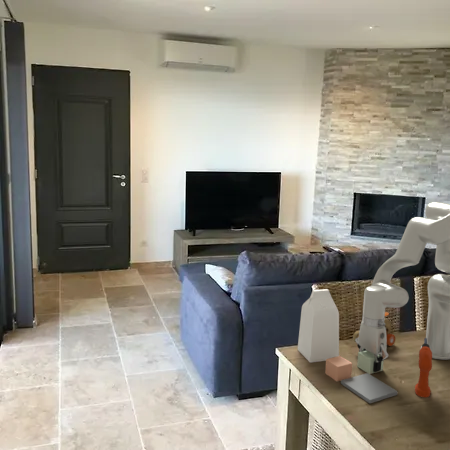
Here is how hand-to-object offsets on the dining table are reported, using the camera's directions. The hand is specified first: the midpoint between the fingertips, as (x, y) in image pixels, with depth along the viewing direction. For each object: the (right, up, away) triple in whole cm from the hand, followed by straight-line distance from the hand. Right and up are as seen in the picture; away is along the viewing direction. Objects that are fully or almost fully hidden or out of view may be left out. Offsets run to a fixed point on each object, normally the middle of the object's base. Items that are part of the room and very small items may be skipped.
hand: (369, 366), depth 182 cm
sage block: (0, -1, 0) cm, 1 cm away
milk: (-17, +1, +11) cm, 21 cm away
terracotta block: (-13, -2, -5) cm, 14 cm away
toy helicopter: (+7, +3, +19) cm, 21 cm away
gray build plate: (-5, -3, -14) cm, 15 cm away
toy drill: (+15, -3, -12) cm, 19 cm away
